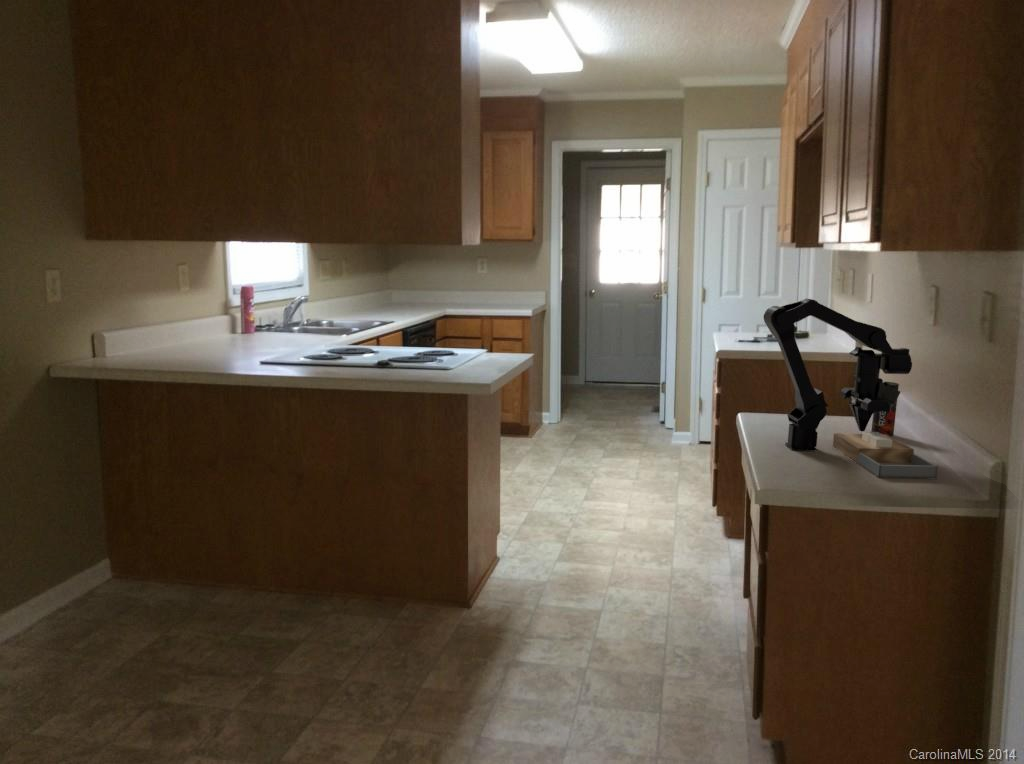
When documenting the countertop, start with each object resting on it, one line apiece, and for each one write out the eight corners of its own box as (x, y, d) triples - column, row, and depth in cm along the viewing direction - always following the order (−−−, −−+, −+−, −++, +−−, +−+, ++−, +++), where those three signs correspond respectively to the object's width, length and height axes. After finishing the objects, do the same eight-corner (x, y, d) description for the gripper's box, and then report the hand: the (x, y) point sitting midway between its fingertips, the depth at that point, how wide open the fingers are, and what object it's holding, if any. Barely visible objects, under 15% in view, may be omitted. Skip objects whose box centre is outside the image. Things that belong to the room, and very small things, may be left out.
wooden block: (857, 463, 220) (858, 448, 219) (832, 447, 235) (834, 433, 235) (912, 464, 220) (914, 449, 219) (884, 448, 236) (885, 434, 235)
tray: (878, 477, 208) (879, 465, 207) (857, 464, 220) (858, 452, 219) (936, 478, 208) (937, 466, 208) (912, 465, 220) (913, 453, 219)
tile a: (868, 442, 225) (869, 435, 225) (861, 439, 229) (862, 431, 229) (883, 443, 225) (884, 435, 225) (876, 439, 229) (877, 431, 229)
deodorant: (872, 435, 251) (878, 384, 248) (869, 431, 256) (874, 380, 254) (895, 437, 249) (900, 385, 247) (891, 433, 255) (896, 382, 252)
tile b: (875, 447, 221) (876, 439, 220) (869, 443, 225) (869, 435, 224) (891, 447, 221) (892, 439, 220) (884, 443, 225) (885, 436, 224)
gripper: (914, 380, 222) (908, 440, 225) (882, 368, 240) (876, 423, 243) (871, 379, 222) (865, 439, 224) (842, 367, 240) (836, 423, 243)
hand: (861, 431), depth 234 cm, fingers closed
